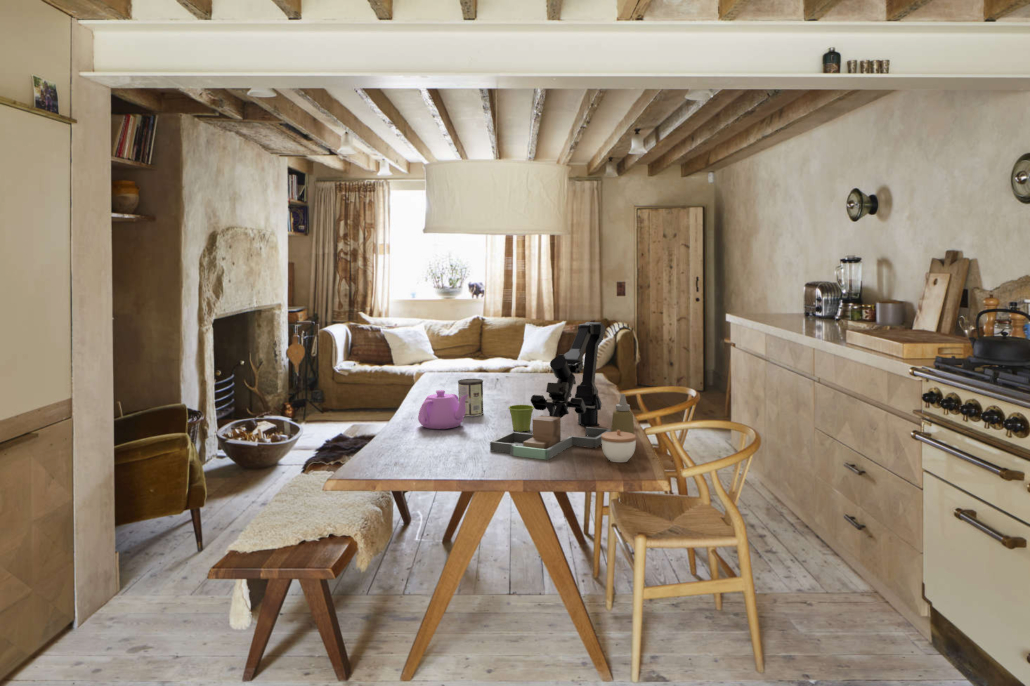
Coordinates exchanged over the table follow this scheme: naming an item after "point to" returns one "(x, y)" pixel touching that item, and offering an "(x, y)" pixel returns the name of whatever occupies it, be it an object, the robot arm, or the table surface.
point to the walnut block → (545, 432)
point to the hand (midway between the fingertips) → (551, 424)
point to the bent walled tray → (515, 447)
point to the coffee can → (472, 395)
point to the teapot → (442, 411)
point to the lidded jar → (618, 445)
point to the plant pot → (521, 417)
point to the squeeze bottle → (622, 417)
